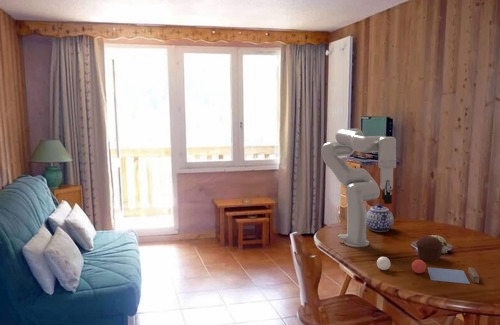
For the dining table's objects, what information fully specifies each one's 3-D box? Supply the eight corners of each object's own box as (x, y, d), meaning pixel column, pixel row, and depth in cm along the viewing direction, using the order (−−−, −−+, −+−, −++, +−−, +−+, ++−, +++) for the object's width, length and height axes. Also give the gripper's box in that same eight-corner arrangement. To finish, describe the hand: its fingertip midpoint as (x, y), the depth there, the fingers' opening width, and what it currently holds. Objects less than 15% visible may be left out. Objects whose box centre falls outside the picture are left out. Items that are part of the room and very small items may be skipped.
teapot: (362, 223, 251) (362, 199, 249) (388, 223, 249) (389, 199, 247) (368, 235, 226) (369, 208, 224) (398, 236, 224) (398, 209, 222)
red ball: (411, 274, 171) (412, 261, 171) (411, 269, 177) (411, 257, 176) (426, 276, 170) (427, 262, 169) (425, 271, 175) (425, 258, 174)
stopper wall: (473, 282, 163) (473, 276, 162) (468, 273, 172) (468, 267, 172) (478, 283, 162) (479, 276, 162) (473, 273, 171) (473, 267, 171)
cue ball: (376, 271, 176) (376, 258, 175) (376, 266, 181) (376, 254, 180) (390, 272, 174) (390, 259, 173) (390, 267, 179) (390, 255, 179)
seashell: (452, 252, 195) (443, 234, 194) (433, 260, 197) (423, 242, 197) (446, 244, 205) (437, 227, 204) (427, 252, 207) (418, 235, 207)
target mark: (430, 280, 165) (430, 279, 165) (427, 267, 179) (427, 267, 179) (469, 284, 161) (470, 283, 161) (463, 270, 174) (463, 270, 174)
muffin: (441, 264, 182) (441, 242, 181) (414, 260, 188) (414, 238, 187) (443, 256, 193) (444, 235, 192) (417, 252, 198) (418, 232, 197)
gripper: (377, 162, 196) (377, 198, 198) (379, 166, 180) (379, 205, 181) (393, 162, 195) (393, 198, 196) (398, 166, 178) (397, 205, 179)
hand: (386, 201), depth 189 cm, fingers open, 9 cm apart
